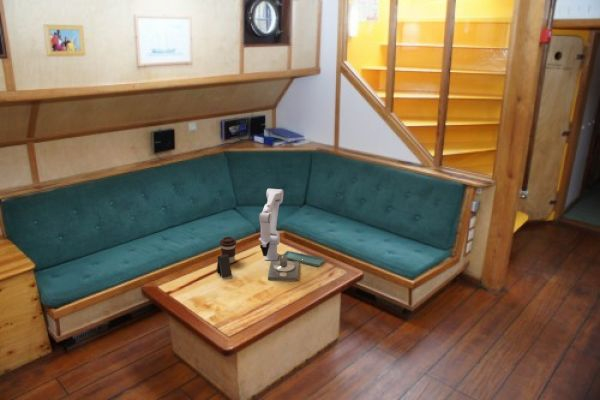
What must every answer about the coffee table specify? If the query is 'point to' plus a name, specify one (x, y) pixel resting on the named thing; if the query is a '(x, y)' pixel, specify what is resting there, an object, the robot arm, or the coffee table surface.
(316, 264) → the rectangular tray
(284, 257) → the cylinder
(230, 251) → the coffee cup
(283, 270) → the scale pan
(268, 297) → the coffee table surface
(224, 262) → the phone stand
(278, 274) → the scale base
